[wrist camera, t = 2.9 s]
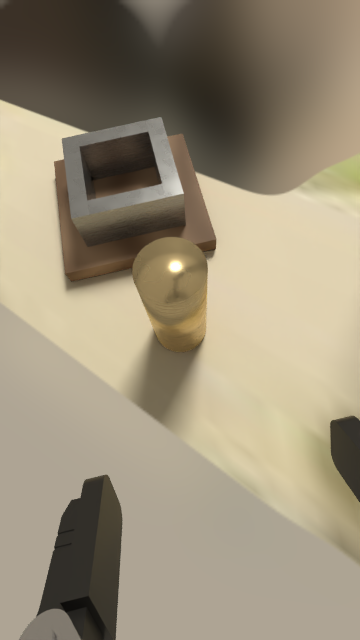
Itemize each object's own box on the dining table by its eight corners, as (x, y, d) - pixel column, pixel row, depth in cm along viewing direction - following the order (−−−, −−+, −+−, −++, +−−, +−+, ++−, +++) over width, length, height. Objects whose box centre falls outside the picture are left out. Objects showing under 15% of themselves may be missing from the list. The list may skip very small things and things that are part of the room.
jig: (183, 145, 36) (180, 95, 31) (215, 248, 31) (218, 209, 26) (59, 172, 36) (36, 126, 31) (71, 281, 30) (45, 248, 25)
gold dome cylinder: (199, 299, 29) (197, 230, 20) (211, 345, 27) (216, 293, 18) (151, 310, 29) (126, 246, 20) (160, 357, 27) (139, 310, 18)
